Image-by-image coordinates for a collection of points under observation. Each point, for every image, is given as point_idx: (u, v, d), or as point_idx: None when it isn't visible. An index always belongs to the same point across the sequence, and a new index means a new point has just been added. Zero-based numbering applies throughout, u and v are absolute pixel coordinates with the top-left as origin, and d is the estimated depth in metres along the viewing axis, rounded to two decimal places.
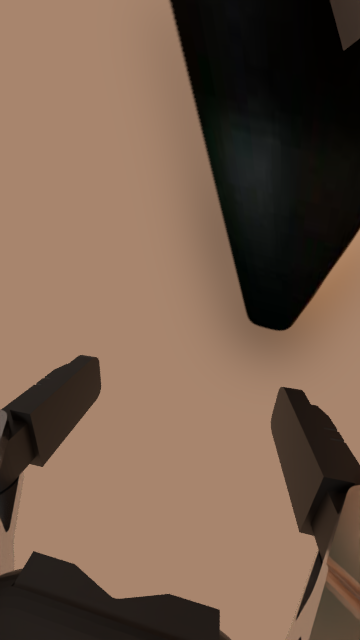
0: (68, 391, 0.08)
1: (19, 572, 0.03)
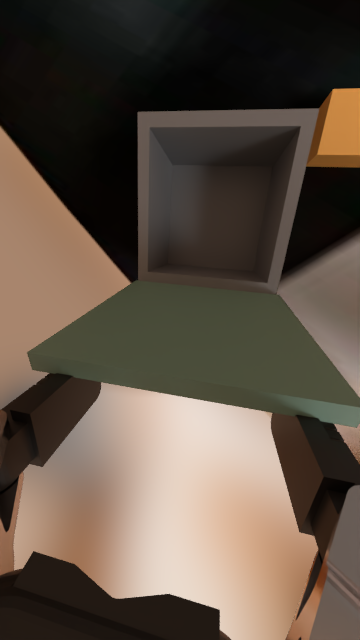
0: (68, 391, 0.08)
1: (19, 572, 0.03)
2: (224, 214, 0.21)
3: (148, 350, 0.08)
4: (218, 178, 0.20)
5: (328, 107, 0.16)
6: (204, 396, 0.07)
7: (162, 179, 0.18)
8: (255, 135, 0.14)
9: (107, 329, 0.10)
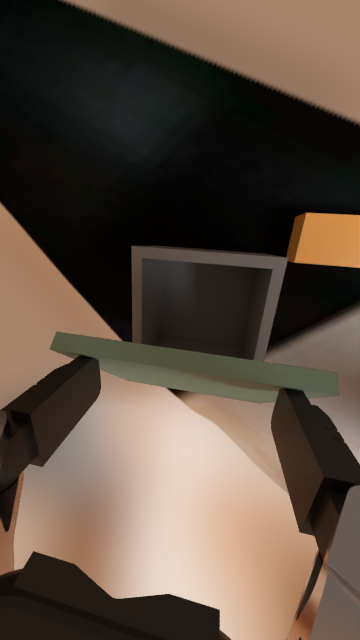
0: (68, 391, 0.08)
1: (19, 572, 0.03)
2: (213, 297, 0.23)
3: None
4: (207, 268, 0.22)
5: (302, 225, 0.18)
6: (204, 369, 0.08)
7: (155, 278, 0.20)
8: None
9: None
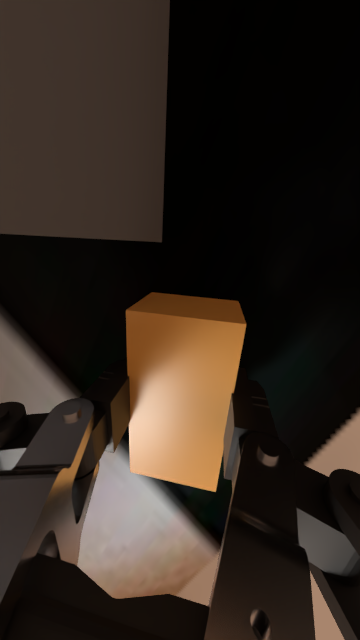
0: None
1: None
2: None
3: None
4: None
5: (214, 319, 0.07)
6: None
7: None
8: None
9: None
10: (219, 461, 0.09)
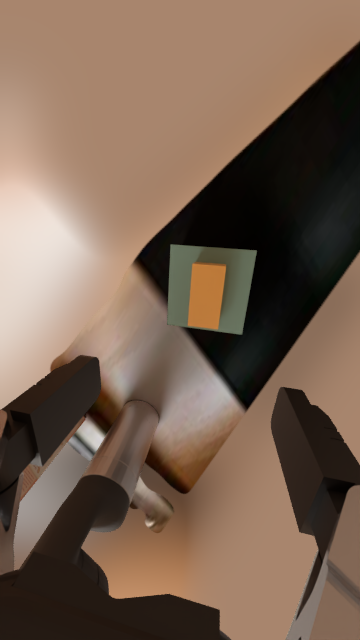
0: (68, 391, 0.08)
1: (19, 572, 0.03)
2: None
3: None
4: None
5: (217, 265, 0.25)
6: (247, 302, 0.29)
7: None
8: None
9: None
10: (219, 315, 0.27)
